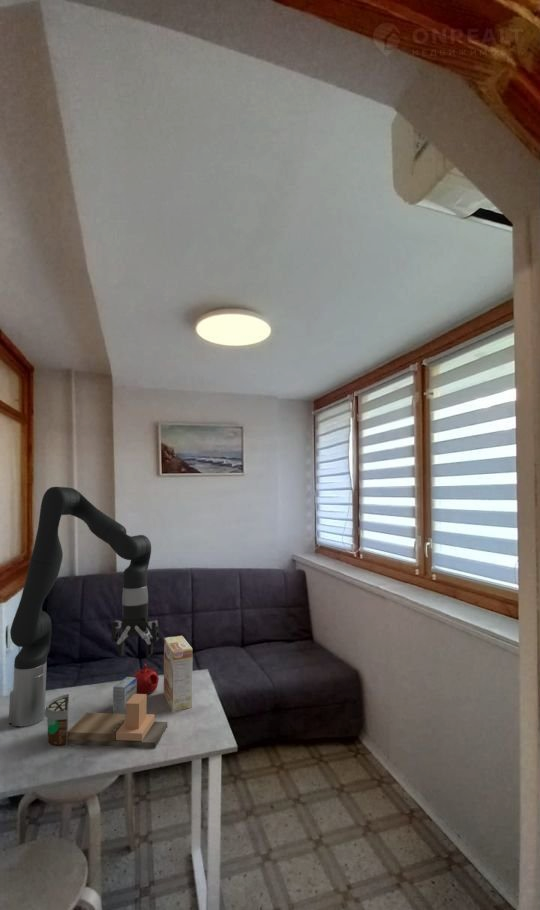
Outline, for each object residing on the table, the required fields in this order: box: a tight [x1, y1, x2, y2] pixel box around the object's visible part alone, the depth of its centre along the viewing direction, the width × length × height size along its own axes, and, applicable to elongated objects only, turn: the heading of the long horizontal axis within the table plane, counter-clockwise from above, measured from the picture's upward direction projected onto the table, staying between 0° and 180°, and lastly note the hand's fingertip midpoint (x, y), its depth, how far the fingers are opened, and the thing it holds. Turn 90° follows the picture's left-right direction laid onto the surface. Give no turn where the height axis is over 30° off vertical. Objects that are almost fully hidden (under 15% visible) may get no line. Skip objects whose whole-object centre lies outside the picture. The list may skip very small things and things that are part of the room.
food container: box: [44, 693, 70, 747], centre depth 126 cm, size 12×6×10 cm, turn 23°
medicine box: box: [112, 676, 137, 714], centre depth 144 cm, size 8×4×9 cm, turn 168°
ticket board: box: [66, 712, 168, 749], centre depth 128 cm, size 26×11×4 cm, turn 86°
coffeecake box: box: [163, 635, 193, 713], centre depth 150 cm, size 15×7×20 cm, turn 25°
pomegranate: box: [132, 663, 160, 695], centre depth 157 cm, size 10×10×9 cm
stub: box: [116, 694, 156, 741], centre depth 128 cm, size 8×11×9 cm
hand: (135, 656), depth 130 cm, fingers open, 8 cm apart
